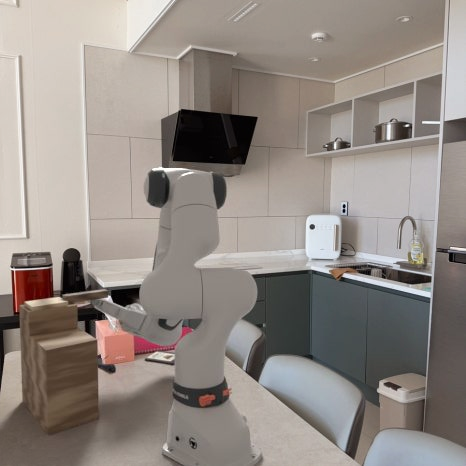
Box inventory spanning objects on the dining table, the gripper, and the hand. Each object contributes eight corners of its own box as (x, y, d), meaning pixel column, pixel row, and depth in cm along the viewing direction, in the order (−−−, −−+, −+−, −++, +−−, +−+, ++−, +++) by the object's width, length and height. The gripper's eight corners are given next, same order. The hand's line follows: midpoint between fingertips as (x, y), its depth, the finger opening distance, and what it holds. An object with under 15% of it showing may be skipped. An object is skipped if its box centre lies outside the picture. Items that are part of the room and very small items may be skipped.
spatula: (101, 294, 131) (101, 287, 130) (111, 299, 125) (111, 291, 125) (24, 305, 117) (24, 297, 117) (32, 310, 112) (31, 302, 112)
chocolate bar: (193, 366, 143) (144, 359, 150) (193, 369, 143) (144, 361, 150) (204, 357, 152) (158, 350, 158) (204, 359, 152) (158, 353, 158)
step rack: (98, 419, 110) (96, 315, 108) (48, 435, 103) (45, 324, 100) (67, 389, 127) (65, 298, 125) (22, 401, 120) (19, 305, 117)
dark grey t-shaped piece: (94, 381, 134) (94, 372, 134) (66, 368, 144) (66, 360, 143) (132, 367, 146) (132, 359, 145) (105, 356, 155) (105, 349, 155)
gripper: (123, 302, 143) (86, 285, 135) (155, 316, 127) (115, 297, 119) (114, 321, 141) (76, 305, 133) (145, 337, 125) (104, 319, 117)
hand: (95, 301), depth 126 cm, fingers open, 8 cm apart
